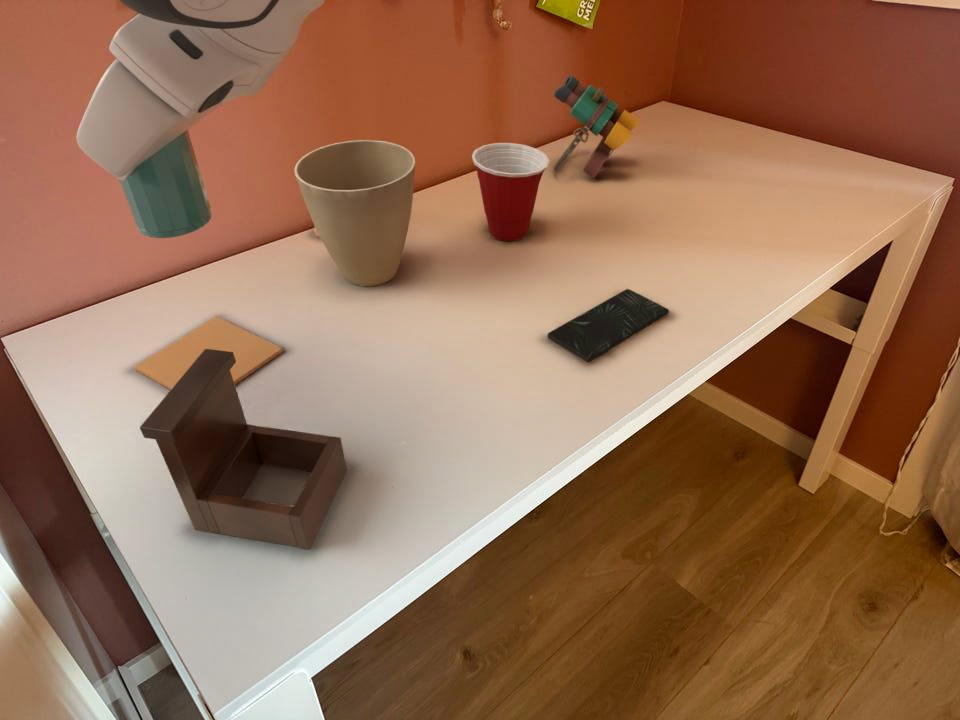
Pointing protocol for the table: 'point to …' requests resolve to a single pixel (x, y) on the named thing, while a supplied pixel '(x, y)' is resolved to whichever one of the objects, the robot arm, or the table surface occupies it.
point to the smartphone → (607, 325)
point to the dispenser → (239, 459)
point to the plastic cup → (509, 186)
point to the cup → (168, 192)
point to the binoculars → (595, 122)
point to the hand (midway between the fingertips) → (145, 152)
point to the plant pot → (360, 205)
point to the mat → (214, 336)
